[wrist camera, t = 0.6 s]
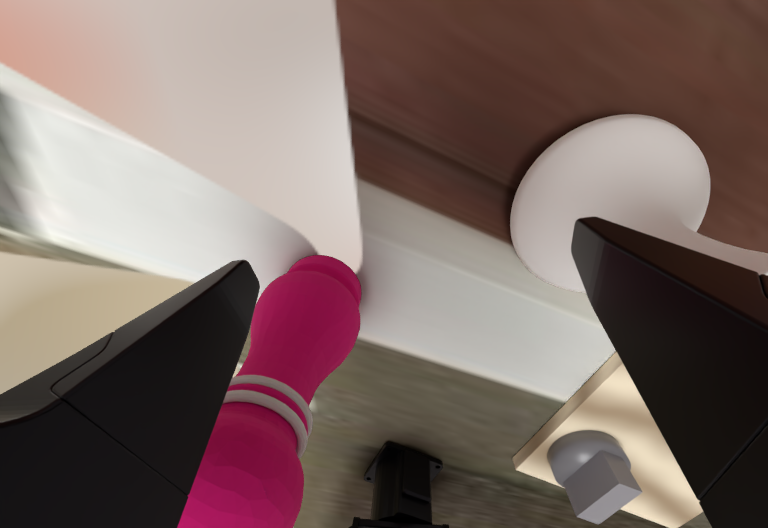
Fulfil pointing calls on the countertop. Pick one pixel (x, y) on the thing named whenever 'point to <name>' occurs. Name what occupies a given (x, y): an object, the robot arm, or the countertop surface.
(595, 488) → the cap
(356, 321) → the pepper mill
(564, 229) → the flower in vase
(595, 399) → the board
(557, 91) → the countertop surface
